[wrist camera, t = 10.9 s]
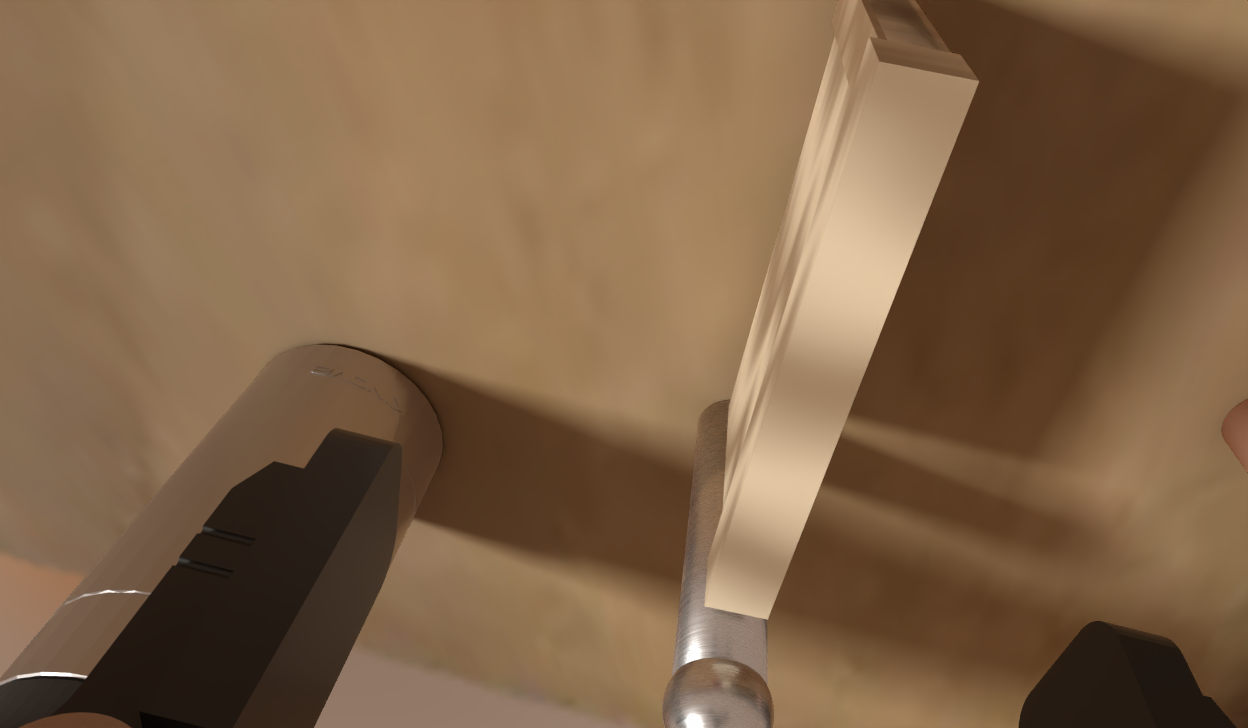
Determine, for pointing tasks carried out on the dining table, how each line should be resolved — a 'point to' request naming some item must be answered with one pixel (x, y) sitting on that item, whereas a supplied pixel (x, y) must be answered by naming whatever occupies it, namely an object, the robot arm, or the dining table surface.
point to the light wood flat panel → (832, 281)
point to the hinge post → (714, 614)
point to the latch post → (1237, 432)
